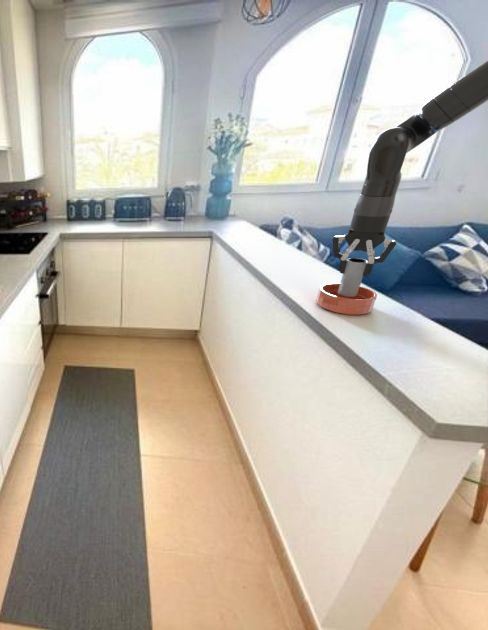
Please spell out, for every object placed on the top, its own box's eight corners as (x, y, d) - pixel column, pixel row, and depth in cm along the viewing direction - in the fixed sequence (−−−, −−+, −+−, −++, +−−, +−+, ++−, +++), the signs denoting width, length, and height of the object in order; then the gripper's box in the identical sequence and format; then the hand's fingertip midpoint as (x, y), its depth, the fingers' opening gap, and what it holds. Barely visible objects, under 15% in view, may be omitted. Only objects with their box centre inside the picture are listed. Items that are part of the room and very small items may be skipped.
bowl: (373, 303, 103) (378, 288, 100) (368, 320, 94) (374, 303, 92) (320, 294, 111) (324, 280, 109) (312, 309, 102) (316, 293, 100)
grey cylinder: (337, 295, 100) (347, 261, 96) (337, 290, 103) (347, 257, 99) (357, 298, 98) (368, 263, 93) (356, 292, 101) (367, 259, 96)
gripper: (409, 211, 88) (386, 274, 96) (340, 209, 97) (325, 266, 105) (408, 217, 83) (385, 282, 91) (336, 213, 92) (320, 273, 100)
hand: (353, 273), depth 98 cm, fingers closed on grey cylinder, 4 cm apart
